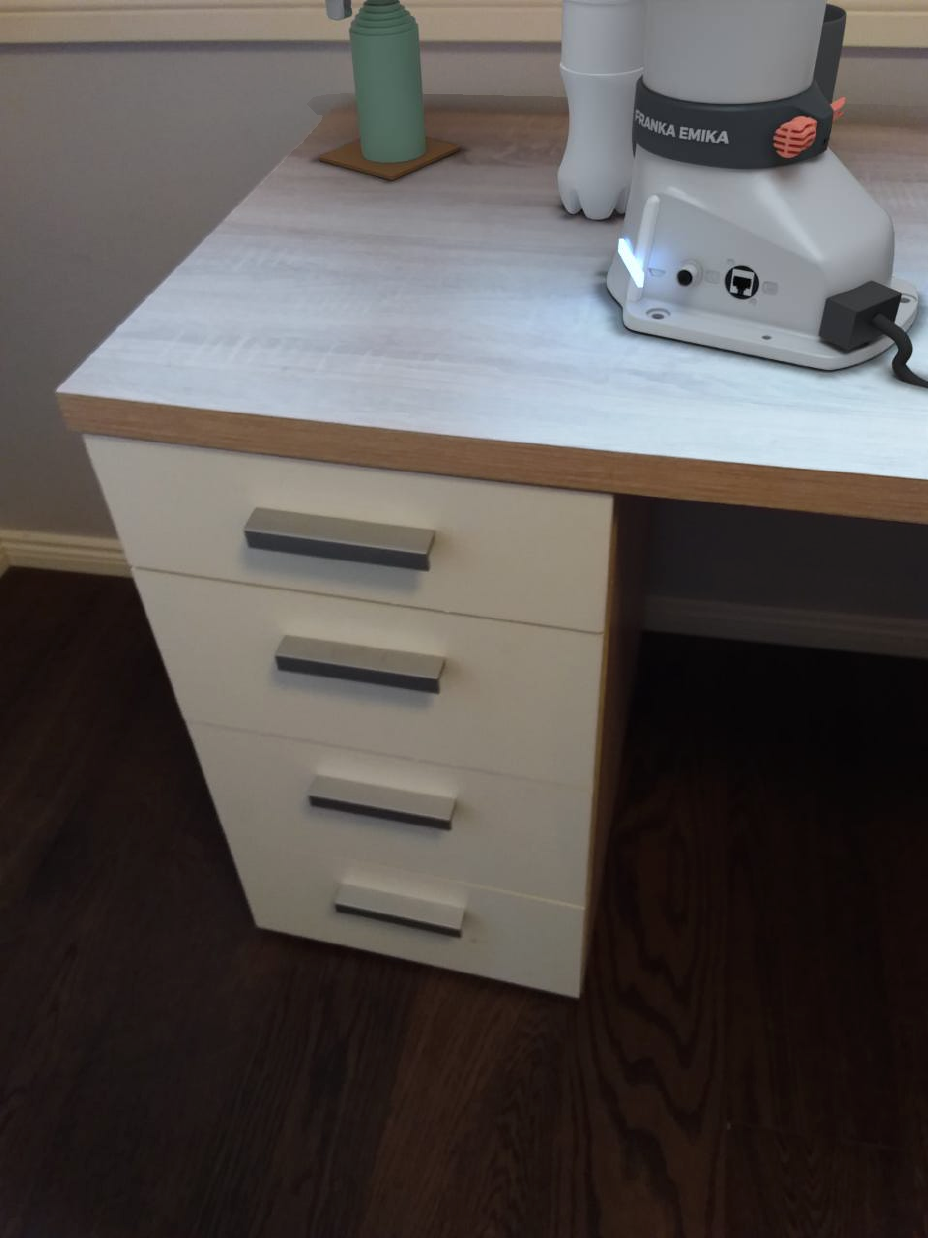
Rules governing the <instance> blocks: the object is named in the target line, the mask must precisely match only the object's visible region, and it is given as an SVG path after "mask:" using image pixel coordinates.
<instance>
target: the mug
mask: <svg viewBox="0 0 928 1238" xmlns="http://www.w3.org/2000/svg"><path fill="white" fill-rule="evenodd" d="M847 16H848V15H847V11H846V10H845V9H844V8H843V7H840V6H837V5H834V4H831V3H826V8H825V14H824V19H823V25H822V30H821V36H820V41H819V47H818V52H817V58H816V63H815V69H814V74H813V77H814V79H815V80H816V82H817V84H818V87H819V89H820V91H821V92H822V94H823V95H824V97H825V98H826V100H827V101H828V103H829V104H832V103H833V98H834V95H835V88H836V83H837V78H838V73H839V67H840V62H841V55H842V50H843V44H844V38H845V32H846V31H845V30H846V24H847V18H848V17H847Z"/></svg>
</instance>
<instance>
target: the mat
mask: <svg viewBox="0 0 928 1238" xmlns="http://www.w3.org/2000/svg"><path fill="white" fill-rule="evenodd" d="M425 139H426V152H425V154H424V155H422V156H421V157H419V158H417V159H414V160H410V161H406V162H400V163H378V162H373V161H369V160H367V159H365V158H364V157H363V156H362V151H361V141H360V139H358V140H356V141H353V142H351V143H348V144H346V145H343V146H342V147H339V148H336V149H334V150H331V151H329V152H327V153H323V154H321V155H319V156H318V160H319V161H321V162H324V163H328V164H330V165H331V164H332V165H334V166H338V167H342V168H346V169H349V170H353V171H356V172H361V173H365V174H368V175H372V176H374V177H379V178H381V179H386V180H389V181H395V180H396V179H399V178H401V177H403V176H405V175H408V174H410V173H412V172H415V171H417V170H418V169H421V168H424V167H425V166H428V165H430V164H433V163H435V162H437V161H439V160H441V159H444V158H445V157H448V156H450V155H452V154H453V155H454V154H455V153H458V152H459V151H461V146H460V145H457V144H453V143H449V142H444V141H441V140H436V139H431V138H428V137H425Z"/></svg>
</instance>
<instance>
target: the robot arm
mask: <svg viewBox="0 0 928 1238" xmlns="http://www.w3.org/2000/svg"><path fill="white" fill-rule="evenodd" d="M324 1H325V10H326V16H327V18H328V19H329V20H333V21H339V22H340V21H342V20H345V19H348V18H350V17H352V15H353V8H352V7H351V6H352V0H324ZM827 1H828V0H648V11H647V25H646V39H645V54H644V68H643V75H642V76H641V77H639V79H638V80H637V83H636V91H635V101H634V111H633V125H632V148H633V155H634V158H635V161H634V168H633V175H632V182H631V188H630V194H629V199H628V204H627V210H626V213H625V215H624V219H623V222H622V223H623V224H622V229H621V231H620V236H619V238H618V243H617V246H616V250H615V253H614V256H613V259H612V262H611V265H610V267H609V269H608V272H607V275H606V287H607V289H608V291H609V293H610V295H611V296H612V297H613V298H614V299H615V300H616V302H618V303H619V305H620V307H621V308H622V321H623V324H624V326H625V327H626V328H628V329H629V330H632V331H636V332H638V333H639V332H640V333H644V334H648V335H653V336H657V337H663V338H668V339H674V340H677V341H678V340H679V341H683V342H687V343H692V344H698V345H703V346H707V347H712V348H716V349H720V350H726V351H731V352H736V353H741V354H745V355H751V356H756V357H760V358H765V359H770V360H775V361H780V362H783V363H789V364H795V365H799V366H804V367H810V368H814V369H817V370H818V369H820V370H826V371H830V370H831V371H833V370H834V371H835V370H838V369H844V368H847V367H852V366H855V365H858V364H862V363H863V362H866V361H868V360H870V359H872V358H874V357H877V356H878V355H880V354H881V353H883V352H884V351H886V350H887V349H889V348H891V347H892V346H893V345H894V344H895V345H896V348H897V351H896V354H895V355H894V357H893V358H892V361H891V368H892V370H893V373H894V374H895V375H896V376H897V378H898V379H899V380H900V381H901V382H903V383H905V384H908V385H911V386H915V387H920V388H924V389H928V380H925V379H924V378H923V377H920V376H918V375H917V374H916V373H914V371H912V369H911V368H910V367H909V366H908V364H907V363H908V361H909V360H910V358H911V357H912V355H913V350H914V346H913V343H912V340H911V338H910V336H909V335H908V334H907V331H909V329H910V328H911V326H912V324H913V323H914V322H915V319H916V317H917V313H918V307H919V301H920V300H919V293H918V290H917V288H916V286H915V285H914V284H913V283H912V282H909V281H907V280H904V279H901V278H899V277H896V276H893V273H894V272H893V271H894V264H895V263H894V260H895V248H896V246H895V245H896V243H895V242H896V241H895V228H894V223H893V219H892V218H891V215H890V214H889V212H888V211H887V210H886V208H884V207H883V206H882V205H881V204H880V203H879V202H878V201H877V200H876V199H875V198H874V197H873V195H872V194H871V193H870V192H869V191H868V190H867V189H866V187H864V185H862V183H860V181H859V180H858V179H857V178H856V176H854V175H853V173H852V172H851V171H850V170H849V169H848V167H847V166H845V164H844V163H843V162H842V161H841V160H840V158H839V157H838V156H837V155H836V154H835V153H834V151H832V149H831V148H830V147H829V144H830V143H829V142H830V138H831V134H832V129H833V128H832V127H833V122H834V121H836V120H837V119H839V118H841V117H842V116H843V115H844V113H845V111H843V110H842V111H841V109H843V107H844V106H845V104H846V102H847V97H846V96H842V97H840V98H838V99H836V100H835V101H834V102H832V104H829V103H828V101H827V100H826V98H825V97H824V95H823V94H822V92H821V91H820V89H819V87H818V84H817V82H816V80H815V79H814V77H813V74H814V69H815V63H816V58H817V52H818V47H819V41H820V36H821V30H822V25H823V19H824V14H825V8H826V3H827ZM827 4H828V3H827Z"/></svg>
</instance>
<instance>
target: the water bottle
mask: <svg viewBox="0 0 928 1238" xmlns="http://www.w3.org/2000/svg"><path fill="white" fill-rule="evenodd" d="M561 1H562V2H561V48H560V49H561V50H560V52H561V54H560V56H561V57H560V61H559V64H558V65H559V68H558V70H559V74H560V77H561V79H562V83H563V86H564V89H565V92H566V93H565V94H566V98H567V104H568V119H569V123H568V124H569V126H568V135H567V136H568V137H567V141H566V146H565V151H564V153H563V156H562V160H561V163H560V165H559V167H558V170H557V173H556V174H557V175H556V177H557V187H558V193H559V196H560V200H561V202H562V204H563V206H564V208H565V210H566V211H567V212H568V213H569V214H573V215H575V214H577V213H579V212H580V211H581V210H582V211H583V213H584V214H585V217H586V218H588V219H590V220H594V221H595V220H597V221H599V220H605V219H608V218H609V217H610V216H611V215H612V213H613V211H614V210H615V211H616V212H617V213H619V214H620V215H621V214H626V210H627V204H628V199H629V194H630V188H631V182H632V175H633V168H634V161H635V158H634V155H633V148H632V125H633V111H634V101H635V91H636V83H637V80H638V79H639V77H641V76H642V75H643V68H644V54H645V39H646V25H647V11H648V0H561Z"/></svg>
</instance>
